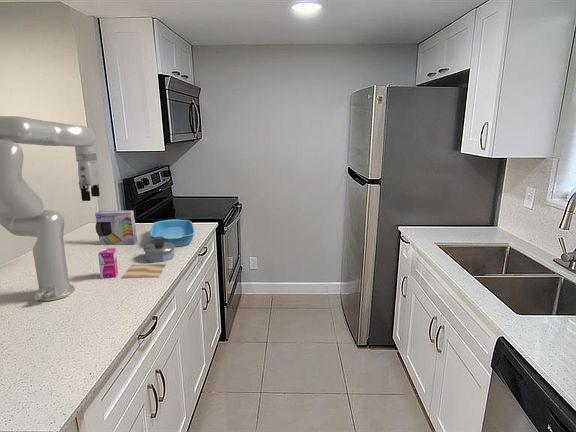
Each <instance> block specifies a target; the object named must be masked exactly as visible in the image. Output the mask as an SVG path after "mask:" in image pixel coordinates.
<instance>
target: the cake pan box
mask: <svg viewBox="0 0 576 432" xmlns="http://www.w3.org/2000/svg"><path fill="white" fill-rule="evenodd" d="M134 212H135V211H134V210H117V209H116V210H115V209H114V210H97V212H95V215H94V216H95V219H96V220H95V221H96V223H95V231H96V235H97V236H98V239H99V241H98V242H99V245H101V246H105V245H106V246H108V245H109V246H111V245H113V246H115V245H118V246H119V245H136V244H137V243H138V235H137V227H136V226H137V225H136V221H135V213H134Z"/></svg>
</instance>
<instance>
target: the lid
mask: <svg viewBox="0 0 576 432" xmlns="http://www.w3.org/2000/svg"><path fill="white" fill-rule="evenodd" d="M175 248H176V247H175V244H173V243H169V242H164V237H155V239H154V242H153V243H149V244H146V245H145V246H143V251H144V252H147V253H165V252H169V251H172V250H174V251H175Z"/></svg>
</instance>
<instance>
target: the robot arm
mask: <svg viewBox="0 0 576 432" xmlns="http://www.w3.org/2000/svg"><path fill="white" fill-rule="evenodd" d="M94 131H95V130H94V129H93V128H92V127H89V126H84V125H77V124H71V123H69V124H68V123H63V122H56V121H48V120H42V119H38V118H37V119H36V118H30V117H24V116H17V115H15V116H13V115H12V116H11V115H10V116H9V115H6V116H5V115H4V116H3V115H0V226H2V227H3V228H4V229H5V230H6V231H8V232H9V233H10V234H12V235H15V236H17V237H34V238H37V239H36V241H35V243H34V245H33V247H32V253H33V255H32V256H33V260H34V261H33V262H34V268H35V273H36V279H37V280H36V281H37V284H38V285H37V286H38V290H37V291H36V292H35V293H34V296H33V299H34V300H35V301H39V302H40V301H42V302H50V301H57V300H60V299H63V298H66V297H69V296H70V295H72V294H74V292H75V290H76V287H75V286H74V285H73V284H70V278H69V272H68V270H69V269H68V264H67V263H68V262H67V257H66V250H65V244H64V243H65V242H64V230H65V220H64V217H63V215H62V214H61V213H60V212H58V211H55V210H50V209H44V208H45V207H44V202H43V201H42V199H41V198H40V197H39V195H38V194H37V193H36V192H35V191H34V190H33V189H32V187H30V186H29V184H28V183H27V182H26V181H25V180H24V178H23V175H22V174H23V164H24V152H23V148H22V147H21V146H20V145H35V146H46V147H49V146H50V147H59V146H60V147H71V148H72V147H73V148H74V151H75V160H76V163H77V172H78V173H77V174H78V186H79V191H80V195H81V196H80V197H81V201H82V202H90V201H92V200H91V197H100V195H101V194H100V193H101V192H100V183H101V177H100V171H99V166H98V165H99V164H98V162H97V161H98V158H97V148H96V147H97V146H96V140H97V135H96V133H95V132H94Z"/></svg>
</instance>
